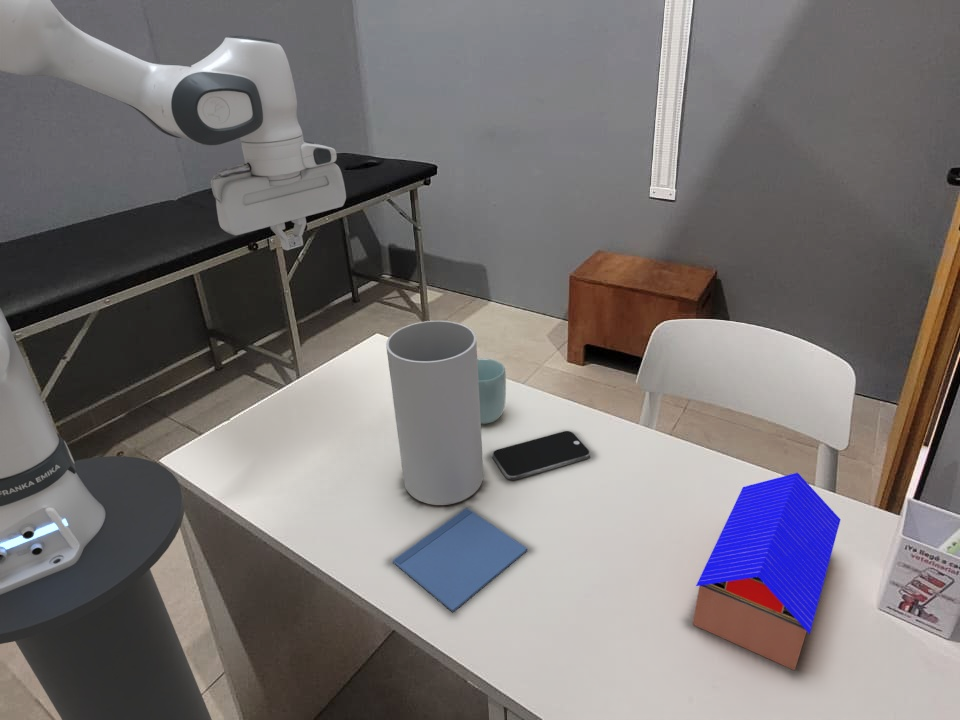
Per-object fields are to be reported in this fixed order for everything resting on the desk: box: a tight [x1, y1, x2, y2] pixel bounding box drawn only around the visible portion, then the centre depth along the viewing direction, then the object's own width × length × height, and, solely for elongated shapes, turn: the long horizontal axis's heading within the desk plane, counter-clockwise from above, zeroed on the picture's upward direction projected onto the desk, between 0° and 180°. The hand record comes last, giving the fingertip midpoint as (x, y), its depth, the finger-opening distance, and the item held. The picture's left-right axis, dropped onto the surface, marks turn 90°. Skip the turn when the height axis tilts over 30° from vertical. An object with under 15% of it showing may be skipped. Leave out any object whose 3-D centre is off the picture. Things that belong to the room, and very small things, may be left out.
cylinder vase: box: [385, 320, 484, 506], centre depth 96 cm, size 12×12×25 cm
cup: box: [477, 358, 507, 425], centre depth 115 cm, size 8×8×10 cm
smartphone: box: [491, 430, 591, 481], centre depth 106 cm, size 8×1×15 cm
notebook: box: [392, 507, 528, 613], centre depth 88 cm, size 14×12×1 cm
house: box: [692, 472, 841, 671], centre depth 79 cm, size 12×20×12 cm, turn 146°
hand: (292, 247), depth 102 cm, fingers closed
